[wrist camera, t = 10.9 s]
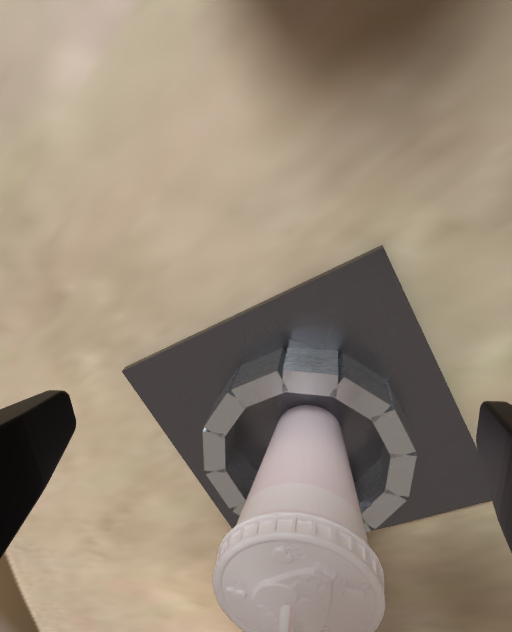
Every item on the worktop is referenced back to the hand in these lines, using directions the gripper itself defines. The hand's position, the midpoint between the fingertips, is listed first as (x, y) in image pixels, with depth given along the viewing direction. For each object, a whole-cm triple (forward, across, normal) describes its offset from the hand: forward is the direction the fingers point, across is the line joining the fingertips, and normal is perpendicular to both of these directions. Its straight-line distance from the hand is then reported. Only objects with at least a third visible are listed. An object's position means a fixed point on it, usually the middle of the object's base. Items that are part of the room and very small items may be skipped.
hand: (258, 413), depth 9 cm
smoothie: (+13, 0, +10) cm, 16 cm away
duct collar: (+13, 0, +10) cm, 16 cm away
